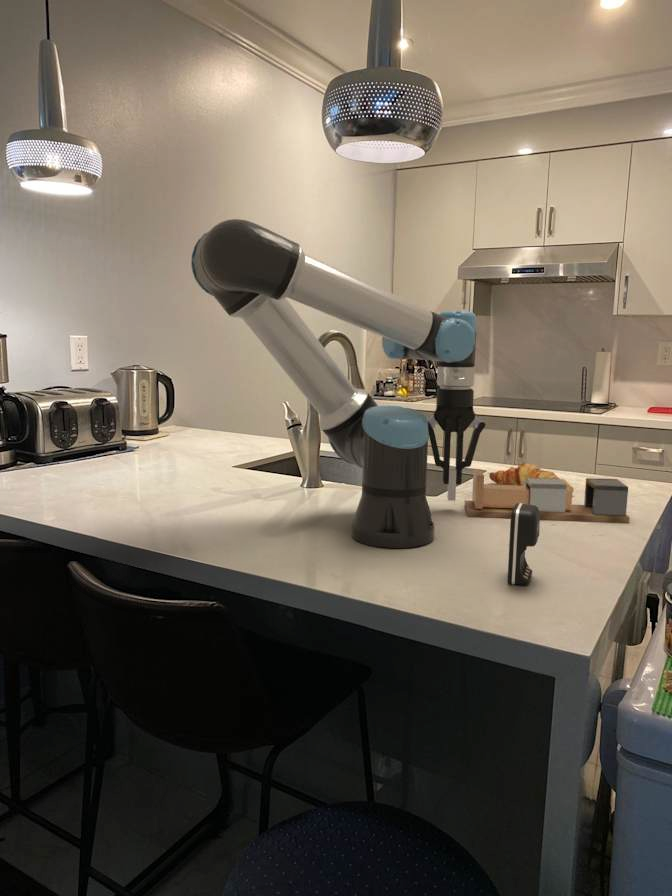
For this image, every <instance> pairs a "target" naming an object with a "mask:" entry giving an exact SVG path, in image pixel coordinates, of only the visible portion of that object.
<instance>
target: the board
mask: <svg viewBox="0 0 672 896" xmlns="http://www.w3.org/2000/svg"><path fill="white" fill-rule="evenodd" d="M464 509H465V511H466V515H467V517H470V518H471V517H472V518H495V519H511V514H512V510H513V508H492V507H483V509H475V507H474V504H473V501H472V500H464ZM543 520H544V521H546V520H547V521H565V522H566V521H567V522H594V523H595V522H596V523H616V524H617V523H619V524H629V523H630V516H629V515H628V514H626V516H607V515H593V514H592V507H585V506H584V504H571V510H565V513H545V512H540V521H543Z"/></svg>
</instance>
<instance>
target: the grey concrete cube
mask: <svg viewBox="0 0 672 896" xmlns="http://www.w3.org/2000/svg"><path fill="white" fill-rule="evenodd" d="M561 479H562V478H560V479H553V478H526V485H525V486H530V502H529V505H535V506H537V507H538V509H539V512H545V513H565V504H566V489H567V485H566V484H565V483H564V482H563V481H562V480H561Z"/></svg>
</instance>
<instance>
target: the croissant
mask: <svg viewBox="0 0 672 896" xmlns="http://www.w3.org/2000/svg"><path fill="white" fill-rule="evenodd" d="M488 476H489V479H490V480H491V481H492V482H494V483H496V485H518V486H525V485H526V478H553V479H561V480H562V481H563V482H564V483H565V484H566V485H567V487H568V488H569V489H570V490H571V491H572V494H573V493H574V487H573V486H572V485H570V483H568V482H567V480H565V479H564V478H563V479H562V478H559V477H558V476H557V474H555V473H554V471H549V470H542V469H541V468H540V466H539V467H538V466H537V465H535V464H531V463H527V462H521V464H519V465H518V467H513V466H511V467H509V468H508V469H506V470H497V471H496V472H489V475H488Z"/></svg>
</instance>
